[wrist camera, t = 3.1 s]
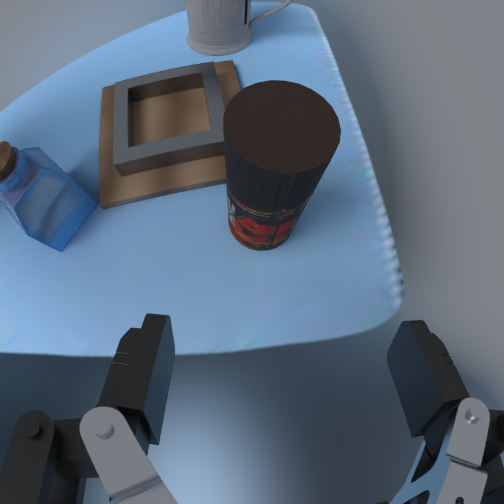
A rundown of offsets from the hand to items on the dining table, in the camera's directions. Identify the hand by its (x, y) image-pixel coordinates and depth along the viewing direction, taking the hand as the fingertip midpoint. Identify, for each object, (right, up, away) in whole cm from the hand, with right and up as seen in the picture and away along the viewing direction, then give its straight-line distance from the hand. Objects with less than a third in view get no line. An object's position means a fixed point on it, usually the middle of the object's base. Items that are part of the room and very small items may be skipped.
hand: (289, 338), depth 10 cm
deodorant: (0, +6, +19) cm, 20 cm away
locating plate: (-10, +16, +21) cm, 28 cm away
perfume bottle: (-21, +7, +19) cm, 29 cm away
